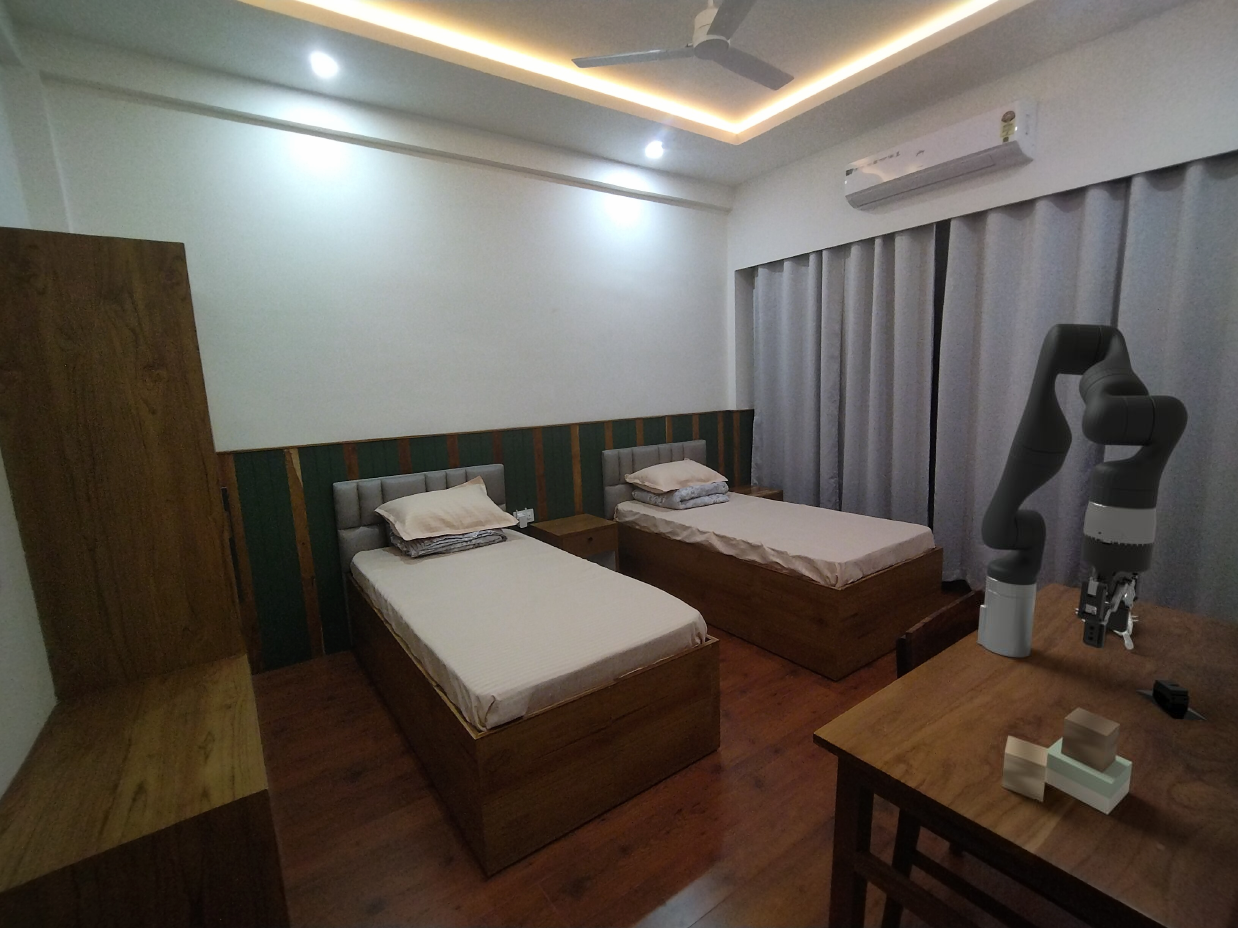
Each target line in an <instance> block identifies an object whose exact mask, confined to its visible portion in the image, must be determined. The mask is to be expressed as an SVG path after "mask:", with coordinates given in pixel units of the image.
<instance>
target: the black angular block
mask: <svg viewBox="0 0 1238 928" xmlns="http://www.w3.org/2000/svg"><path fill="white" fill-rule="evenodd" d="M1134 691H1136V693H1138V694H1139V695H1141V696H1142V697H1143V698H1145V699H1147V701H1149V702H1150V703H1151V704H1153V705H1154V706H1155V707H1156V708H1158V709H1160V710H1161V712H1164V713H1165V714H1166V715H1167V716H1169V717H1171V719H1174V720H1186V721H1196V722H1197V721H1198V720H1202V721H1201V722H1208V721H1207V720H1208V719H1206V718H1205V717H1204V716H1202V715H1201V714H1199V713H1198V712H1196V711H1195V710H1193V709H1192V708H1191V707H1189V705H1190V704H1189V703H1190V698H1191V697H1190V696H1189V692H1190V691H1189V690H1188V689H1187V688H1185V687H1183V686H1180V684H1178V683H1177V682H1175V681H1174V680H1169V679H1168V680H1166V679H1155V681H1154V683H1153V686H1152V690H1145V689H1144V690H1143V689H1134ZM1198 722H1199V721H1198Z"/></svg>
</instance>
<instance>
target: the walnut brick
mask: <svg viewBox="0 0 1238 928" xmlns="http://www.w3.org/2000/svg"><path fill="white" fill-rule="evenodd" d="M1120 726H1121V724H1120V723H1118V722H1116V721H1113V720H1111V719H1108V718H1107V717H1103V716H1101V715H1098V714H1096V713H1093V712H1092V711H1088V710H1086V709H1084V708H1081V707H1078V706H1077V708H1075V709H1074V710H1073V711H1071V712H1070V713H1069V714H1068V715H1066V716H1065V717H1064V720H1063V729H1062V737H1063V738H1062V737H1061V738H1062V747H1061V754H1063V755H1066V756H1068V757H1070V758H1072V759H1074V760H1076V761H1078V762H1080V763H1082V764H1084V765H1087V766H1089V767H1091V768H1093V769H1095V770H1097V771H1099V772H1101V773H1103V772H1104V771H1105V770H1106V769H1107V768H1108V767H1109V766H1110V765H1111V764H1112V763H1113V762H1114V761H1115V760H1116V755H1117V753H1118V752H1117V751H1118V742H1119V734H1120Z"/></svg>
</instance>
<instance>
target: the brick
mask: <svg viewBox="0 0 1238 928" xmlns="http://www.w3.org/2000/svg"><path fill="white" fill-rule="evenodd" d="M1006 740H1007V741H1006V744H1005V749H1004V756H1003V768H1002V781H1001V787H1003V788H1005V789H1006V790H1007V789H1008V790H1010V791H1012V792H1015V793H1018V794H1019V795H1022V796H1025V797H1028V798H1030V799H1033V800H1035V799H1037V800H1036V801H1038V800H1039V802H1040V801H1041V803H1043V802H1044V794H1045V785H1046V784H1045V783H1046V782H1045V775H1046V765H1047V754H1048V747H1044V746H1042V745H1038V744H1035V743H1032V742H1029V741H1026V740H1023V739H1020V738H1017V737H1015V736H1012V735H1008V736H1007V739H1006Z"/></svg>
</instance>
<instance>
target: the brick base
mask: <svg viewBox="0 0 1238 928" xmlns="http://www.w3.org/2000/svg"><path fill="white" fill-rule="evenodd" d="M1062 738H1063V736H1061V737H1060V738H1059V739H1058V740H1056V742H1055V743H1053V744H1051V746H1049V748H1048V747H1047V748H1048V754H1047V765H1046V775H1045V783H1047V784H1048V785H1051V786H1052V787H1055V788H1057V789H1058V790H1059V791H1062V792H1063V793H1066V794H1067V795H1069V796H1071V797H1074V798H1076V799H1077V800H1079V801H1081V802H1083V803H1085V804H1087V805H1089V806H1090V807H1092V808H1094V809H1096V810H1098V811H1099V812H1102V813H1104V814H1106V815H1109V814H1110V813H1111V812H1112V811H1113V810H1114V808H1115V807H1116V806H1117V805H1118V804H1119V803H1120V802H1121V801H1122V799H1124V798H1125V796H1126V795H1127V794H1129V790H1130V782H1131V777H1132V776H1131V775H1132V768H1133V761H1130V760H1128V759H1126V758H1123V757H1121V756H1119V755H1117V754H1116V760H1115V761H1114V762H1113V763H1112V764H1111V765H1110V766H1109V767H1108V768H1107V769H1106V770H1105V771H1104V772H1103V773H1101V772H1099V771H1097V770H1095V769H1093V768H1091V767H1089V766H1087V765H1084V764H1082V763H1080V762H1078V761H1076V760H1074V759H1072V758H1070V757H1068V756H1066V755H1063V754H1061V747H1062Z"/></svg>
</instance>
